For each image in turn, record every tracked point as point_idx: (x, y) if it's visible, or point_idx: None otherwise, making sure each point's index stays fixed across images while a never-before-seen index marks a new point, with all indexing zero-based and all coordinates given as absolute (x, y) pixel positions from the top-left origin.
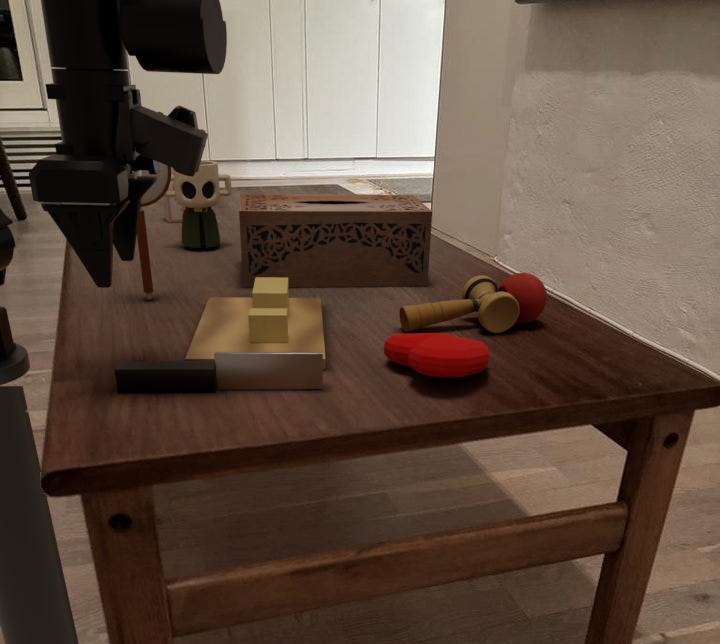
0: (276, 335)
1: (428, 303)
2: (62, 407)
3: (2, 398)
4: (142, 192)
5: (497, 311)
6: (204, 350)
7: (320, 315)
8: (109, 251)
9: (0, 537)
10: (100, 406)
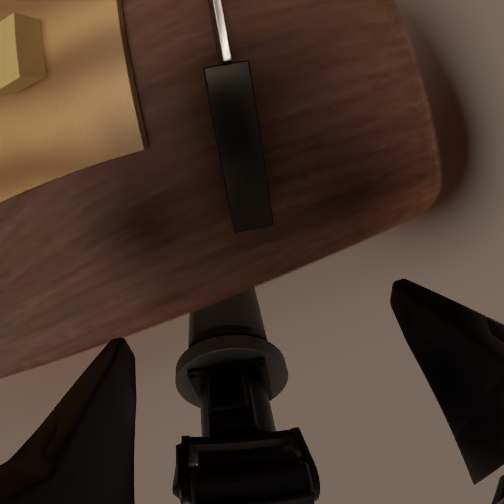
0: (35, 33)
1: None
2: (313, 256)
3: (249, 331)
4: (31, 494)
5: None
6: (98, 133)
7: None
8: (482, 315)
9: None
10: (308, 215)
